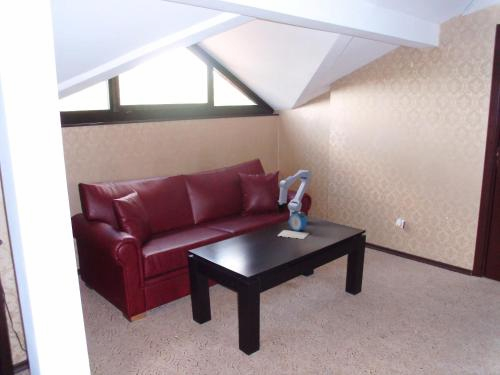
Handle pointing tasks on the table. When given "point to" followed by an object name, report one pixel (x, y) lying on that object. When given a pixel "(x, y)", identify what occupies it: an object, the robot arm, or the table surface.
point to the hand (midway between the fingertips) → (281, 212)
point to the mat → (293, 234)
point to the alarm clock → (297, 221)
